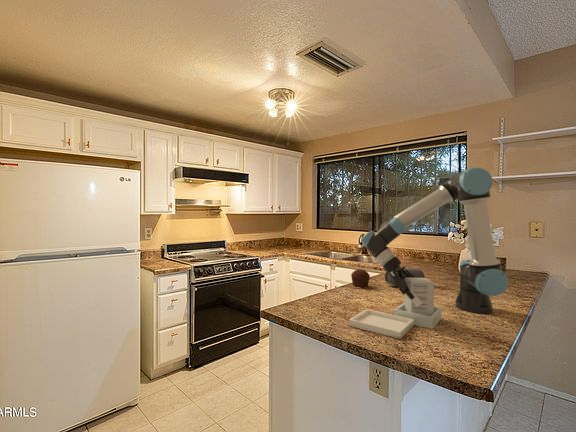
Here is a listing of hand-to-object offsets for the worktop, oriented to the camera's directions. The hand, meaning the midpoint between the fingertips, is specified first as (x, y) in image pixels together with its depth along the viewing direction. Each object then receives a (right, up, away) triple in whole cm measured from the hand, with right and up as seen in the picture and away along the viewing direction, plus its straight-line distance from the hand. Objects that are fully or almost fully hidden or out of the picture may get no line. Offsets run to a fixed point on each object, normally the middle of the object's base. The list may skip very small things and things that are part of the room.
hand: (424, 301), depth 127 cm
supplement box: (-2, -8, +2) cm, 9 cm away
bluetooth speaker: (+15, -8, +62) cm, 64 cm away
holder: (-2, -8, +2) cm, 8 cm away
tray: (-20, -8, -6) cm, 22 cm away
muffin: (-13, -7, +59) cm, 61 cm away
